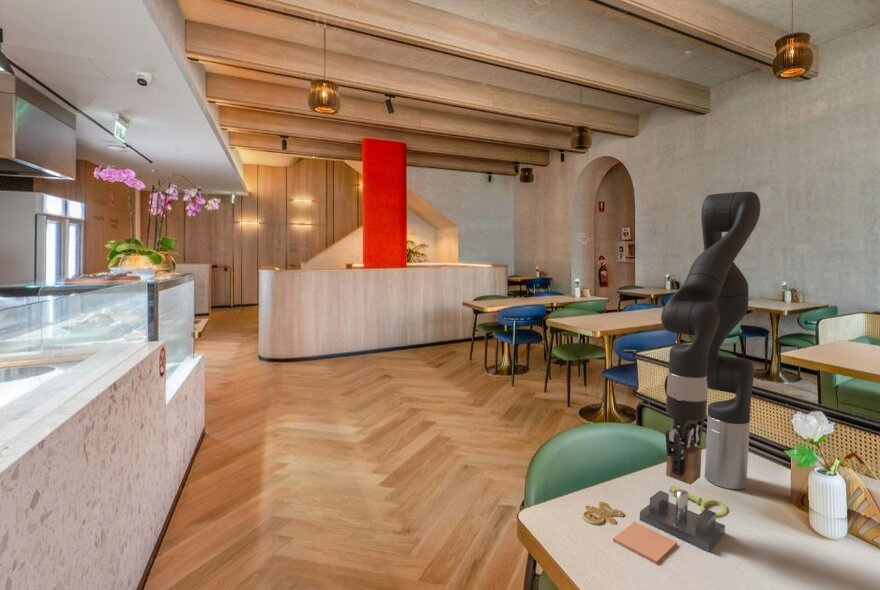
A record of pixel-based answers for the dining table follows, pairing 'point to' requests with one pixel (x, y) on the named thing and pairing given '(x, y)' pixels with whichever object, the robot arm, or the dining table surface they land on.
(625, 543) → the tile
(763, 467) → the dining table surface
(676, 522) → the grey clamp base
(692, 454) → the sleeve
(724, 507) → the key
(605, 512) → the cookie
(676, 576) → the dining table surface
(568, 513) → the dining table surface
